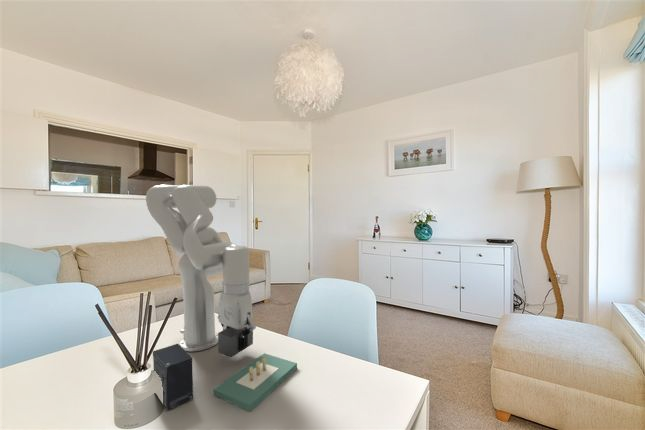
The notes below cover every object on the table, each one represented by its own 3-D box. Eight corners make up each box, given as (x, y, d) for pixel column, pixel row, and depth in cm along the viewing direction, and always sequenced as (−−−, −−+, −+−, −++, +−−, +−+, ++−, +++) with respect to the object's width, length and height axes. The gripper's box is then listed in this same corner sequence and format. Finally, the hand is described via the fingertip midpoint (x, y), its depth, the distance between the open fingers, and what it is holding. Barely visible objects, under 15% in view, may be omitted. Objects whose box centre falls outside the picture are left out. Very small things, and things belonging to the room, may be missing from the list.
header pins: (248, 380, 73) (248, 367, 73) (264, 368, 78) (263, 356, 78) (251, 381, 73) (251, 368, 73) (266, 369, 78) (266, 357, 78)
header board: (213, 395, 70) (213, 388, 70) (264, 357, 87) (264, 352, 87) (250, 411, 65) (249, 404, 64) (297, 368, 81) (296, 362, 81)
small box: (195, 398, 69) (194, 356, 69) (166, 412, 65) (164, 367, 64) (180, 380, 77) (178, 341, 76) (152, 391, 72) (151, 351, 72)
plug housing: (218, 352, 84) (218, 333, 83) (240, 339, 92) (240, 321, 91) (230, 357, 81) (230, 337, 81) (252, 343, 89) (252, 325, 89)
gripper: (206, 285, 86) (206, 343, 87) (248, 296, 78) (248, 360, 79) (225, 279, 93) (225, 333, 94) (266, 289, 84) (266, 348, 86)
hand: (236, 345), depth 86 cm, fingers closed on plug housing, 5 cm apart
